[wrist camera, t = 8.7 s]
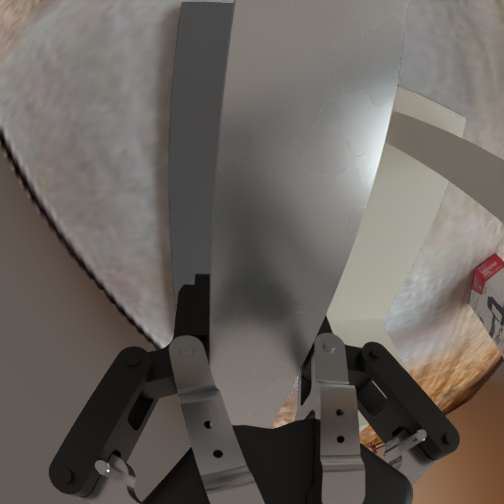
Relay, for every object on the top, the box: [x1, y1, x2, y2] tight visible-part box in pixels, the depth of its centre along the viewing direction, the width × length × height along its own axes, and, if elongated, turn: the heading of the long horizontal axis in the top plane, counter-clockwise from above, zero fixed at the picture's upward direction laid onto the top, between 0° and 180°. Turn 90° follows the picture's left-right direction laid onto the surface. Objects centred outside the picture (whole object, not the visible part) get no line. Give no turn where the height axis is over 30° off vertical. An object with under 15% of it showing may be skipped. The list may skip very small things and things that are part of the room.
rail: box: [209, 0, 408, 428], centre depth 11 cm, size 25×4×3 cm, turn 173°
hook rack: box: [326, 86, 504, 432], centre depth 18 cm, size 26×8×12 cm, turn 173°
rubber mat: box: [169, 2, 233, 310], centre depth 19 cm, size 28×9×1 cm, turn 173°
